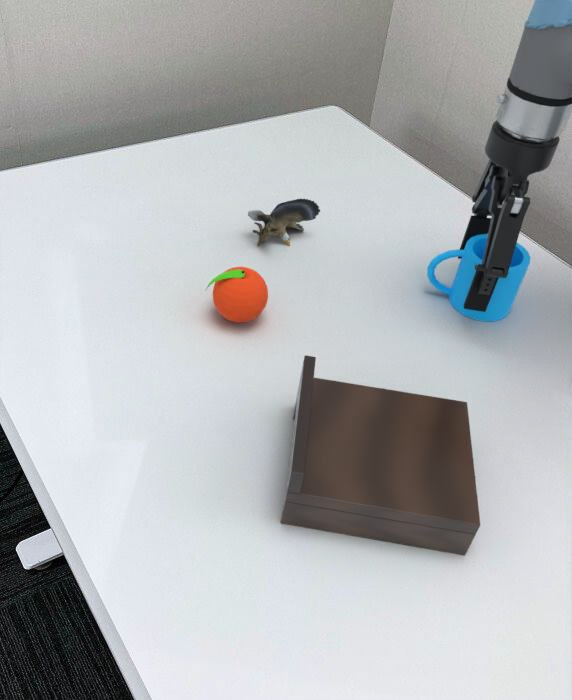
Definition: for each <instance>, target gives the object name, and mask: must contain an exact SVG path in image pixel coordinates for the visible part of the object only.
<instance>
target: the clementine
mask: <svg viewBox="0 0 572 700" xmlns="http://www.w3.org/2000/svg"><path fill="white" fill-rule="evenodd" d="M213 284H214V285H213ZM211 285H213V288H212V289H213V290H212V302H213V304H214V306H215V309H216V311H217V312H218V313H219V314H220V315H221V316H222V317H223V318H224V319H226V320H227V321H230V322H233V323H248V322H250V321H252V320H255V319H256V318H258V317H259V316H260V315H261V314H262V312H263V311H264V310H265V309H266V306H267V303H268V299H269V289H268V285H267V283H266V280H265V279H264V277H263V276H262V275H261V274H260V273H258V272H257V270H255V269H252V268H250V267H247V266H235V267H230V268H228V269H226V270H225V271H224V272H222V273H220V274H219V275H217V276H216V277H214V278H213V279H212V280H211V281H210V282H209V283H208V284H207V287H206V288H205V290H204V291H205V292H206V291H207V290H208V289H209V287H210V286H211Z"/></svg>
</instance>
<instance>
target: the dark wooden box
mask: <svg viewBox="0 0 572 700" xmlns="http://www.w3.org/2000/svg"><path fill="white" fill-rule="evenodd" d="M316 360H317V357H316V356H313V355H304V358H303V361H302V367H301V372H300V377H299V382H298V387H297V392H296V397H295V403H294V407H293V417H292V420H294V422H293V432H292V438H291V439H292V440H291V447H290V455H289V456H290V457H289V464H288V473H287V474H288V475H287V480H286V481H287V483H286V489H285V492H284V498H283V501H282V502H283V503H282V507H281V516H280V524H284V525H288V526H289V525H290V526H295V527H299V528H300V527H302V528H305V529H312V530H317V531H324V532H328V533H329V532H330V533H335V534H341V535H345V536H353V537H358V538H364V539H371V540H376V541H381V542H388V543H393V544H398V545H403V546H404V545H405V546H410V547H416V548H420V549H421V548H423V549H427V550H432V551H433V550H434V551H438V552H444V553H450V554H455V555H462V556H466V554H467V553H468V550H469V548H470V546H471V545H472V543H473V541H474V539H475V537H476V535H477V533H478V531H479V529H480V527H481V519H480V509H479V501H478V492H477V490H478V489H477V480H476V474H475V473H476V472H475V462H474V455H473V444H472V435H471V425H470V417H469V416H470V415H469V409H468V408H469V407H468V402H467V401H464V400H458V399H457V400H456V399H449V398H444V397H437V396H431V395H426V394H418V393H413V392H405V391H401V390H400V391H399V390H394V389H387V388H383V387H377V386H376V387H375V386H369V385H362V384H358V383H351V382H345V381H337V380H332V379H326V378H320V377H315V370H316V362H317V361H316Z"/></svg>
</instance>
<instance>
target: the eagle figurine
mask: <svg viewBox="0 0 572 700" xmlns="http://www.w3.org/2000/svg"><path fill="white" fill-rule="evenodd" d="M320 212H321V209H320V206H319V205H318V203H316V202H315V201H314V200H311V199H308V198H297V199H292V200H287V201H283V202H280V203H278V204H276V206H275V207H274V208H273V209H272V211H271V212H270V214H268V213H267V214H265V213H264V212H263V211H262V210H260V209H255V210H249V211H247V217H249V219H251V220H252V221H254V222H253V224H254V225H256V226H257V227H258V228H259V231H258V230H257V229H253V230H252V233H254V234H256V235H257V236H258V241H257V243H256V244H257V247H260V246H261V245H263V244H265V243H266V242H267V239H268V238H269V237H275V236H277V237H279V238H281V239H282V241H284V242H285V243H286V244H287V246H288V247H289V246H291V237H290V235H289V234H288V233H287V230H286V228H290V229H296V230H299V231H305V228H304V227H303V225H301V224H300V223H302V222H309V221H313V220H315V219H316V218H317V216H318V215H320V214H319V213H320ZM259 222H263V223H264V227H263V225H262V223H259Z"/></svg>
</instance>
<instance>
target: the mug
mask: <svg viewBox="0 0 572 700" xmlns="http://www.w3.org/2000/svg"><path fill="white" fill-rule="evenodd" d="M487 236H488V234H482V235H476V236H474V237H471V238H470V239H469V240H468V241H467V243H466V246H465V249H464V250H460V248H459V249H453V250H447V251H444V252H442V253H439V254H438V255H436V256H435V257H434V258H432V259H431V261H430V262H429V264H428V266H427V270H426V272H427V273H426V276H427V278H428V280H429V283H430V284H431V285H432V286H433V287H434V288H435V289H436V290H437V291H440V292H441V293H443V294H445V295H447V296H448V299H449V303H450V304H451V306H452V307H453V309H455V310H456V311H457V312H459V313H460V314H461V315H463V316H466V317H467V318H470V319H472V320H476V321H479V322H488V323H489V322H499V321H501V320H503V319H505V318H506V317H507V316H508V315H509V314H510V312H511V309H512V307H513V304H514V302H515V300H516V297H517V295H518V292H519V290H520V289H521V285H522V283H523V282H524V281H523V280H524V279H525V276H526V274H527V271H528V269H529V267H530V264H531V256H530V255H531V254H530V253H529V252H528V250H527V249H526V248H525V247H524V246H523V245H522V244H520V243H518V242H517V243H516V247H515V250H514V253H513V257H512V260H511V264H510V267H509V271H508V275H507V277H506V278H499V279H498V281H497V284H496V286H495V289H494V291H493V294H492V296H491V299H490V301H489V304H488V307H487V309H486V312H482V311H475V310H469V309H464V302H465V300H466V297H467V294H468V291H469V289H470V286H471V283H472V281H473V278H474V275H475V272H476V270H475V265H478V264H482V260H483V255H484V250H485V246H486V241H487ZM458 257H462V258H461V259H460V261H459V262H458V263H459V264H458V266H457V269H456V272H455V275H454V278H453V281H452V284H451V287H448V286H446V285H444V284H443V283H441V282H440V280H438V279H437V277H436V274H435V270H436V269H437V267H438V265H439V264H440V263H442V262H444V261H446V260H448V259H451V258H452V259H453V258H458Z"/></svg>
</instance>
